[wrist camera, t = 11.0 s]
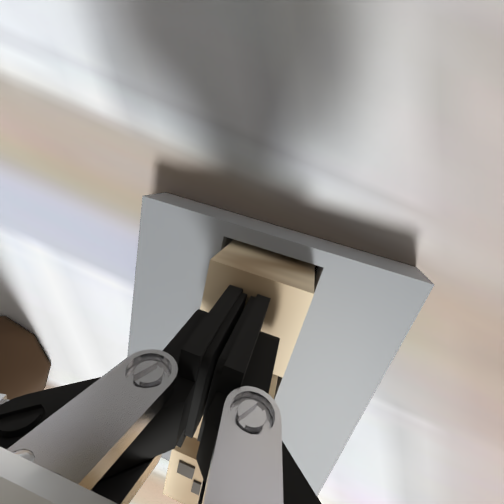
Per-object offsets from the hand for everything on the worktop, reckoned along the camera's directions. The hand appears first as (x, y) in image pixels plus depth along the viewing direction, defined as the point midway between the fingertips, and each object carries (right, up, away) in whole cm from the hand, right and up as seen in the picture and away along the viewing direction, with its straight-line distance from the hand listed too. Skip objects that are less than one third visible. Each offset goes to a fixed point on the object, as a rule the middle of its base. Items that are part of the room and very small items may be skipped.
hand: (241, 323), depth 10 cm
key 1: (+1, +1, +3) cm, 4 cm away
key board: (0, -4, +6) cm, 7 cm away
